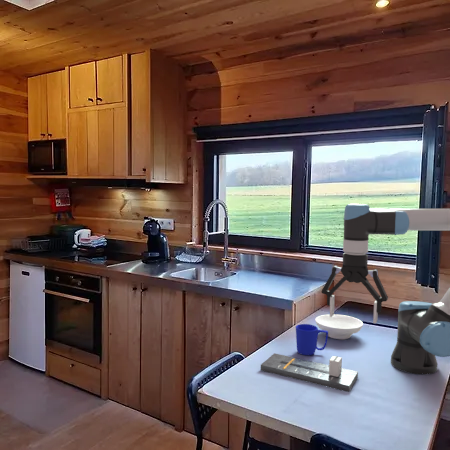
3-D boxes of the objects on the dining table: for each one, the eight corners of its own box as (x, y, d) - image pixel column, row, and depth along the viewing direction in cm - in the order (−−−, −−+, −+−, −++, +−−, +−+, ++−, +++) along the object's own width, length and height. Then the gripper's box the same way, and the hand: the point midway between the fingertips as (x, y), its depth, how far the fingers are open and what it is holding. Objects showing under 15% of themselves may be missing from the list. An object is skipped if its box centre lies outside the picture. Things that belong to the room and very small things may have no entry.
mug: (327, 359, 157) (328, 332, 156) (294, 356, 159) (295, 329, 158) (327, 350, 165) (327, 325, 164) (295, 348, 167) (296, 323, 166)
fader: (341, 372, 140) (341, 357, 140) (338, 376, 137) (338, 361, 136) (332, 370, 142) (332, 355, 141) (328, 374, 138) (329, 359, 138)
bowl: (355, 348, 167) (356, 331, 167) (308, 339, 178) (308, 323, 177) (367, 334, 184) (368, 319, 183) (323, 326, 194) (324, 311, 194)
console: (357, 377, 142) (358, 371, 142) (349, 392, 131) (349, 385, 131) (274, 358, 157) (274, 352, 156) (260, 370, 146) (260, 364, 146)
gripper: (399, 254, 132) (396, 321, 134) (319, 248, 144) (318, 310, 146) (396, 258, 125) (393, 328, 127) (313, 251, 137) (311, 316, 139)
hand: (353, 318), depth 136 cm, fingers open, 13 cm apart
